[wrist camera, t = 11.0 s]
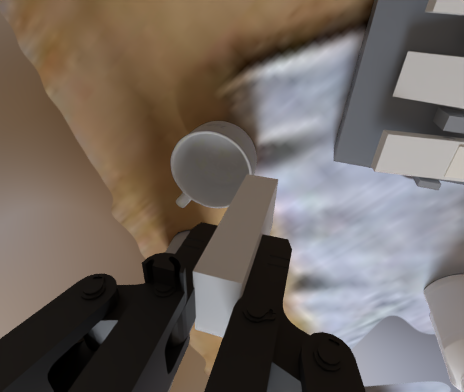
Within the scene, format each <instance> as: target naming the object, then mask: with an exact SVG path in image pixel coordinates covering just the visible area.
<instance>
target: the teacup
mask: <svg viewBox="0 0 464 392" xmlns="http://www.w3.org/2000/svg"><path fill="white" fill-rule="evenodd" d="M170 163H171V172H172V175H173V178H174V180H175V182H176V184H177V185H178V186H179V188H180V189H181V190H182V192H183V193H182V194H181V195H180V196H179V197H178V199H177V200H176V204H177V205H178V206H180V207H181V208H184V207H185V206H186V205H187V204H188V203H189V202H190V201H191V200H193V201H195V202H197V203H199V204H201V205H203V206H206V207H210V208H226V207H229V205H230V204H231V202H232V200H233V198H234V196H235V195H236V193H237V191H238V189H239V187H240V186H241V184H242V182H243V180H244V178H245V177H246V175H247V174H248V175H254V173H255V169H256V163H257V156H256V150H255V147H254V144H253V142H252V140H251V139H250V137H249V136H248V135H247V133H246V132H245V131H244V130H242V129H241V128H240V127H238V126H236V125H234V124H232V123H229V122H225V121H211V122H208V123H205V124H202V125H200V126H199V127H197V128H196V129H194V130H193V131H191V132H190V133H189V134H187V135H186V136H184V137H183V138H182V139H181V140H180V141H179V142H178V143H177V144H176V146H175V147H174V150H173V152H172V155H171V161H170Z"/></svg>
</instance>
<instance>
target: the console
mask: <svg viewBox="0 0 464 392" xmlns="http://www.w3.org/2000/svg"><path fill="white" fill-rule="evenodd" d="M428 1H429V0H374V3H373V6H372V10H371V14H370V18H369V21H368V25H367V29H366V32H365V36H364V40H363V43H362V47H361V51H360V55H359V58H358V62H357V66H356V69H355V73H354V77H353V80H352V84H351V88H350V92H349V95H348V99H347V103H346V106H345V110H344V114H343V117H342V121H341V125H340V129H339V132H338V136H337V140H336V143H335V147H334V161H336V162H342V163H347V164H353V165H358V166H364V167H369V168H372V167H371V164H372V161H373V158H374V155H375V152H376V150H377V147H378V144H379V141H380V138H381V135H382V132H383V130H391V131H401V132H410V133H419V134H428V135H438V136H447V137H456V138H464V109H462V108H457V107H451V106H445V105H440V104H434V103H428V102H422V101H416V100H411V99H405V98H399V97H393V93H394V91H395V88H396V85H397V82H398V79H399V76H400V73H401V70H402V67H403V64H404V62H405V59H406V56H407V53H408V51H415V52H424V53H433V54H442V55H451V56H460V57H464V15H453V14H441V13H430V12H425V10H426V7H427V4H428ZM412 177H413V179H414V181H415V183H416V185H417V186H418V187H424V188H429V189H434V190H439V188H440V186H441V183H440V182H439V180H441V181H447V182H452V183H458V184H463V185H464V182H459V181H451V180H442V179H434V178H425V177H416V176H412Z"/></svg>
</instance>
